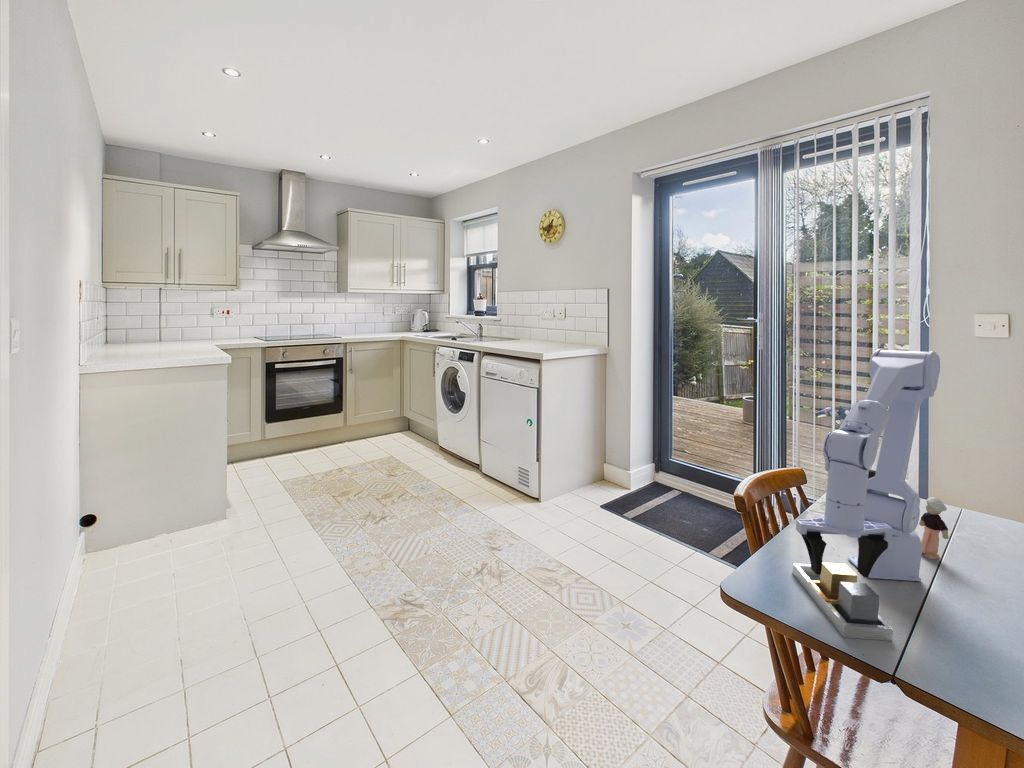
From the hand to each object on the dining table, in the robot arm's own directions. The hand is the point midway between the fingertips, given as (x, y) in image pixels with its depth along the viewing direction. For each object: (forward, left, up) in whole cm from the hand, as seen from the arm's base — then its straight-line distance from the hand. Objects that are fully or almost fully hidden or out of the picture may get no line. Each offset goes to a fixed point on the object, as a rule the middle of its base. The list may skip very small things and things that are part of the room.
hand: (839, 573), depth 87 cm
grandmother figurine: (-28, -21, -6) cm, 36 cm away
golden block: (0, 0, -6) cm, 6 cm away
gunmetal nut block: (0, +7, -6) cm, 9 cm away
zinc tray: (0, 0, -6) cm, 6 cm away
